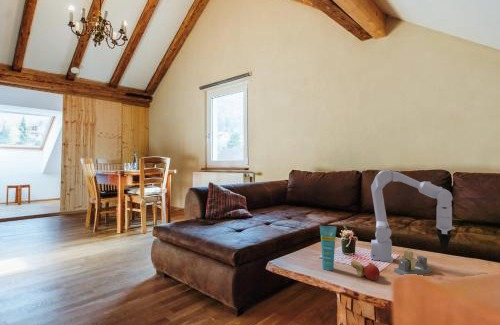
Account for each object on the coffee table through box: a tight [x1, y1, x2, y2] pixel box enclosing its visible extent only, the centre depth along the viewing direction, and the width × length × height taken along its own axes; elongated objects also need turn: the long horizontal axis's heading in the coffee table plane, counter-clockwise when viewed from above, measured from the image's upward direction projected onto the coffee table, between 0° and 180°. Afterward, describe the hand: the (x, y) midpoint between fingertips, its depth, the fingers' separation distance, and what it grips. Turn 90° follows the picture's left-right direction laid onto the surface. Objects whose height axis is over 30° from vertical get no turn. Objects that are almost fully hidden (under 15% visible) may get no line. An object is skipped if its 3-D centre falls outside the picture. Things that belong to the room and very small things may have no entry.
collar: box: [401, 249, 416, 270], centre depth 126 cm, size 2×5×7 cm, turn 21°
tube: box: [319, 225, 337, 271], centre depth 131 cm, size 7×5×19 cm, turn 73°
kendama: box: [350, 259, 381, 281], centre depth 126 cm, size 8×6×18 cm
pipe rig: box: [393, 255, 433, 276], centre depth 127 cm, size 15×6×6 cm, turn 111°
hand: (443, 246), depth 130 cm, fingers open, 7 cm apart
